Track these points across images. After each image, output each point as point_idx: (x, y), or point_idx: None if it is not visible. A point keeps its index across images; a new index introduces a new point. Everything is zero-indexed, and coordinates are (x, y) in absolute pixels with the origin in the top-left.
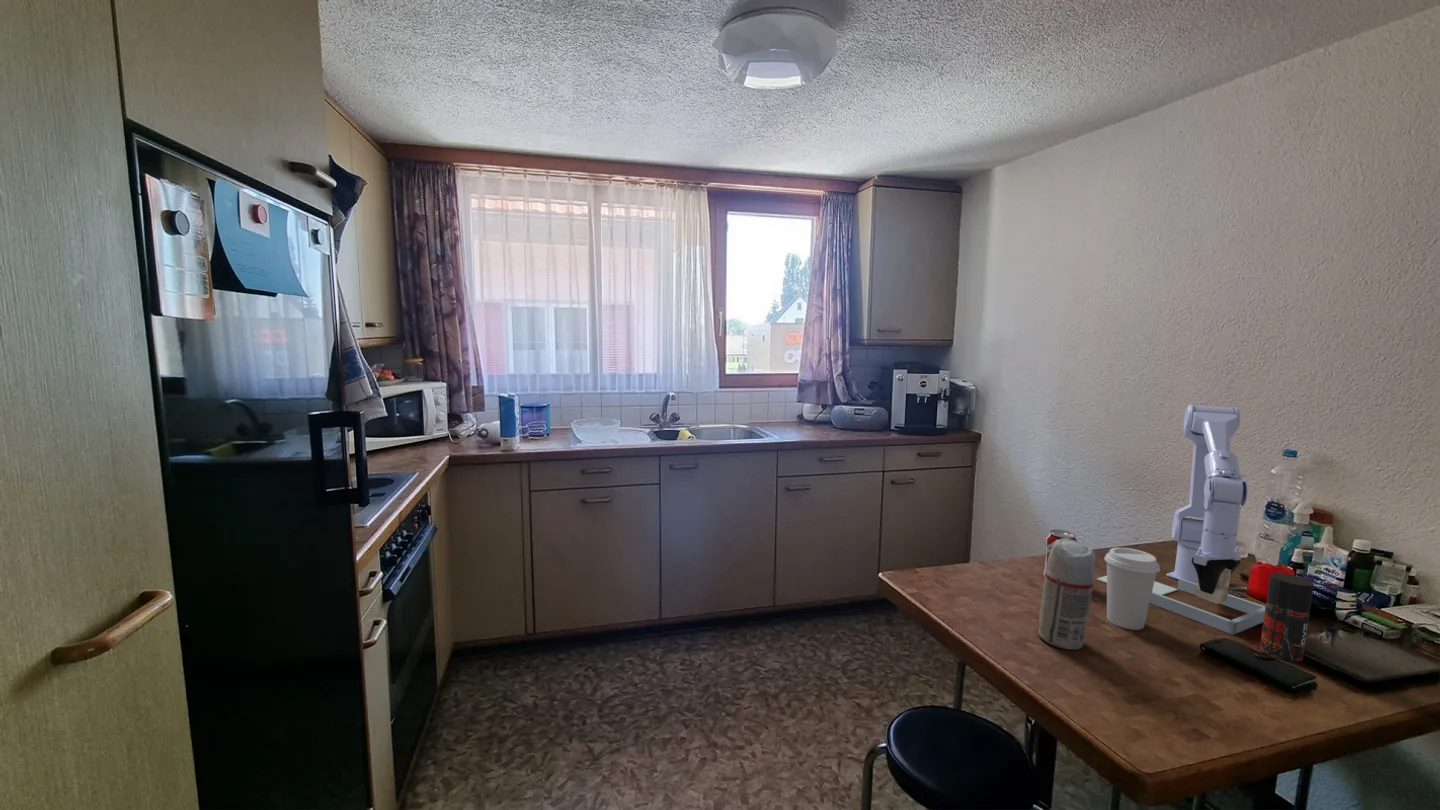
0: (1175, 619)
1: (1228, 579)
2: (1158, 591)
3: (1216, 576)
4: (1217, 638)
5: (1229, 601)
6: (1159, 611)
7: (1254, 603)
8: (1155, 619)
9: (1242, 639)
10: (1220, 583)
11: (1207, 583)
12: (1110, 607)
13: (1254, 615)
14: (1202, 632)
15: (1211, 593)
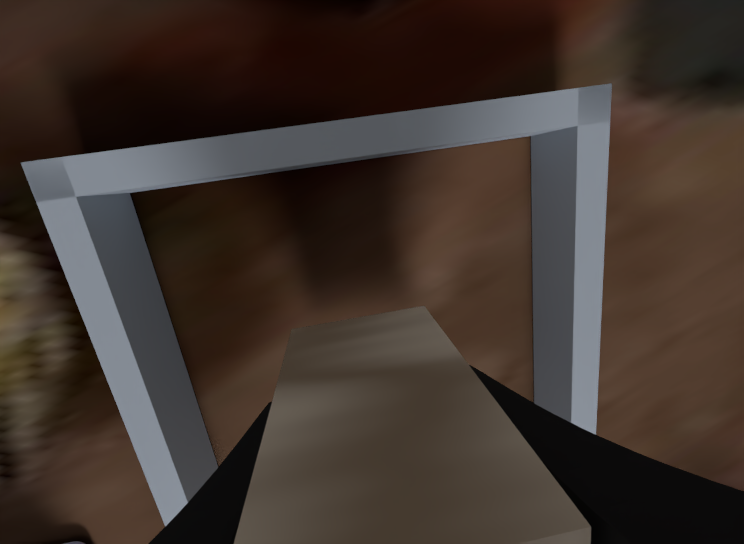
0: (630, 311)
1: (292, 451)
2: None
3: (683, 473)
4: (677, 104)
5: (165, 366)
6: (605, 386)
7: (76, 263)
8: (712, 333)
9: (567, 46)
10: (492, 398)
11: None
12: None
13: (316, 123)
14: (669, 176)
15: (472, 367)
